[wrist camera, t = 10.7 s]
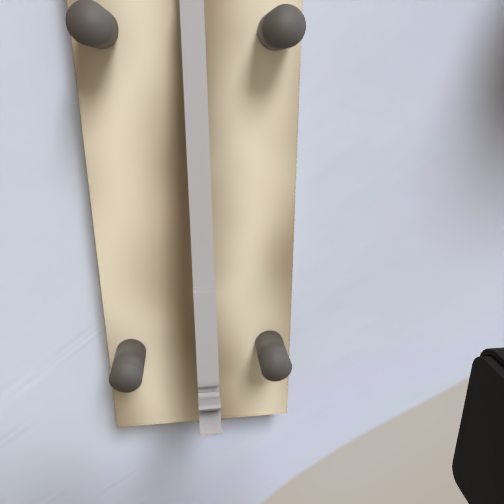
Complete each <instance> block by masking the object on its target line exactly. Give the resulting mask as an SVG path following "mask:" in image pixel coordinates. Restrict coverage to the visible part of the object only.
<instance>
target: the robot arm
mask: <svg viewBox="0 0 504 504" xmlns="http://www.w3.org/2000/svg"><path fill="white" fill-rule="evenodd" d="M452 468H453V469H452V470H453V475H454V478H455V481H456V483H457V485H458V487H459V489H460V490H461V492H462V493H463V495H464V496H465V498H466V500H467V501H468V503H469V504H504V348H491V349H485V350H483V352H482V353H481V355H480V357H477V358H475V360H474V361H473V364H472V369H471V374H470V379H469V384H468V389H467V395H466V399H465V404H464V409H463V414H462V419H461V424H460V429H459V434H458V438H457V443H456V448H455V453H454V459H453V465H452Z"/></svg>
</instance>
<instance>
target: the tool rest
mask: <svg viewBox="0 0 504 504" xmlns="http://www.w3.org/2000/svg"><path fill="white" fill-rule="evenodd" d="M67 6H68V11H67V14H66V25H67V29H68V31H69V33H70V35H71V40H72V48H73V57H74V65H75V74H76V82H77V90H78V99H79V107H80V116H81V124H82V133H83V141H84V149H85V158H86V166H87V175H88V183H89V192H90V200H91V208H92V217H93V225H94V234H95V242H96V251H97V259H98V267H99V276H100V284H101V293H102V301H103V310H104V318H105V326H106V335H107V343H108V352H109V360H110V369H111V373H110V377H109V382H110V384H111V386H112V387H113V394H114V402H115V411H116V419H117V427H128V426H140V425H152V424H164V423H176V422H188V421H199V405H198V381H197V360H196V339H195V318H194V297H193V274H192V254H191V233H190V212H189V191H188V170H187V149H186V129H185V108H184V87H183V66H182V45H181V24H180V3H179V0H67ZM302 6H303V0H204V19H205V44H206V69H207V94H208V120H209V145H210V171H211V196H212V221H213V247H214V272H215V291H216V313H217V338H218V363H219V394H220V401H221V410H220V412H221V419H224V418H236V417H248V416H260V415H272V414H284V413H287V399H288V375H289V374H290V372H291V370H292V364H291V361H290V359H289V346H290V320H291V294H292V268H293V242H294V215H295V189H296V163H297V137H298V111H299V84H300V58H301V40H302V38H303V36H304V34H305V30H306V22H305V18H304V15H303V14H302Z"/></svg>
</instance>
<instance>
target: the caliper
mask: <svg viewBox="0 0 504 504" xmlns="http://www.w3.org/2000/svg"><path fill="white" fill-rule="evenodd" d="M179 3H180V24H181V45H182V66H183V87H184V108H185V129H186V149H187V170H188V191H189V212H190V233H191V254H192V274H193V297H194V318H195V339H196V360H197V381H198V405H199V426H200V436H208V435H218V434H222V424H221V412H220V410H221V401H220V394H219V363H218V338H217V313H216V291H215V272H214V247H213V221H212V196H211V171H210V145H209V120H208V94H207V69H206V44H205V19H204V0H179Z"/></svg>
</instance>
